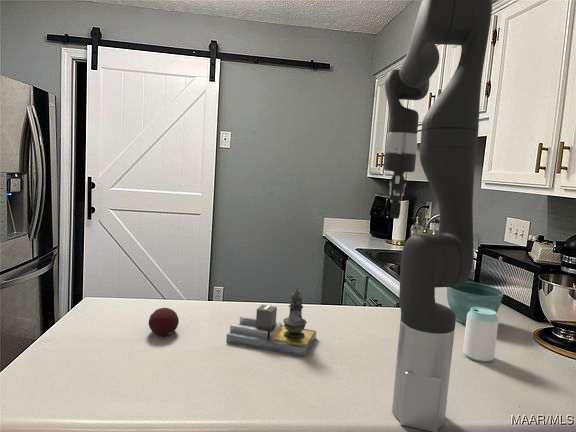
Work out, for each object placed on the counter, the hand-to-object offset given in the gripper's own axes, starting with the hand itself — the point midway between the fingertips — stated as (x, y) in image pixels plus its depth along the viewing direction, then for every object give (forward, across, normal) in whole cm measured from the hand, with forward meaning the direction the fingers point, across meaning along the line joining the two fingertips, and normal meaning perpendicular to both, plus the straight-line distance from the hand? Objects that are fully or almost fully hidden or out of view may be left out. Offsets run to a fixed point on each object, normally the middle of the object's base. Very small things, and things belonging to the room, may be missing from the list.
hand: (394, 216), depth 105 cm
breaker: (+31, +11, -29) cm, 44 cm away
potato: (+33, +18, -54) cm, 66 cm away
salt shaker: (+31, +11, -21) cm, 39 cm away
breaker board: (+33, +11, -27) cm, 44 cm away
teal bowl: (+33, -29, +25) cm, 51 cm away
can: (+33, -1, +23) cm, 40 cm away
